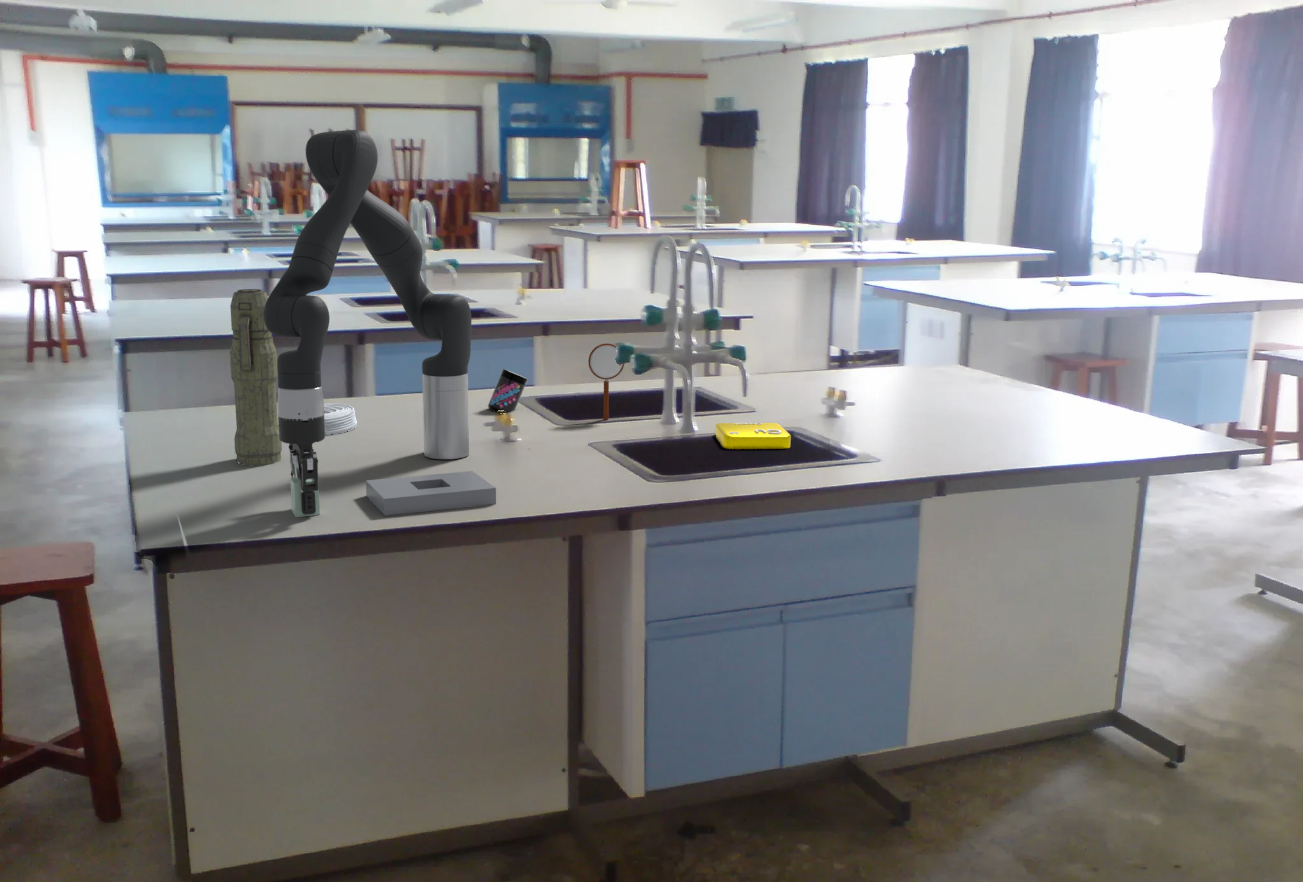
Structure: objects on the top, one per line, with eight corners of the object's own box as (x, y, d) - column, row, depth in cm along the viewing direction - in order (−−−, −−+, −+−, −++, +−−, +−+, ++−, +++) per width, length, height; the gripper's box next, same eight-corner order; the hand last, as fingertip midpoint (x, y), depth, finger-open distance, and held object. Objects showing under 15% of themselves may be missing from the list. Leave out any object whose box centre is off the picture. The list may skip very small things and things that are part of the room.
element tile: (777, 440, 270) (778, 420, 269) (791, 455, 255) (792, 433, 254) (713, 441, 268) (714, 420, 267) (723, 455, 253) (724, 434, 252)
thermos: (231, 471, 230) (220, 292, 223) (241, 457, 242) (231, 287, 235) (277, 470, 232) (268, 292, 225) (285, 456, 243) (277, 287, 236)
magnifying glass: (623, 425, 282) (624, 342, 278) (624, 426, 281) (625, 343, 276) (587, 425, 281) (588, 343, 277) (588, 427, 279) (589, 343, 275)
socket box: (366, 496, 213) (365, 480, 213) (472, 486, 222) (472, 470, 221) (384, 515, 201) (384, 498, 200) (496, 504, 209) (495, 487, 209)
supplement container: (481, 405, 289) (497, 366, 289) (500, 411, 294) (516, 373, 294) (498, 413, 285) (515, 373, 284) (517, 420, 290) (533, 381, 290)
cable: (368, 428, 274) (367, 403, 273) (341, 444, 257) (340, 417, 256) (296, 426, 276) (295, 401, 275) (265, 441, 259) (263, 414, 258)
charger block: (291, 511, 203) (290, 477, 202) (315, 509, 204) (314, 475, 203) (295, 517, 199) (294, 483, 198) (319, 514, 201) (318, 480, 200)
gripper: (271, 407, 203) (276, 501, 206) (285, 422, 190) (289, 522, 194) (315, 404, 206) (319, 497, 210) (332, 419, 193) (335, 517, 197)
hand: (305, 508), depth 202 cm, fingers open, 5 cm apart
